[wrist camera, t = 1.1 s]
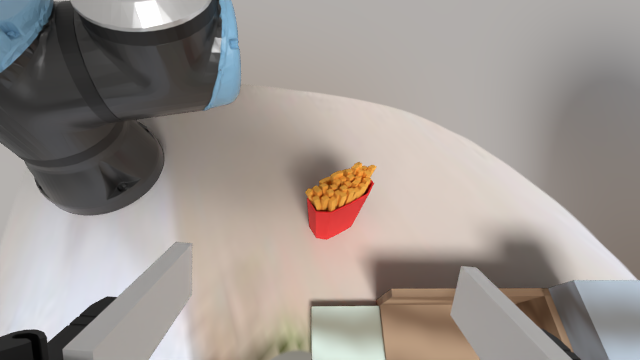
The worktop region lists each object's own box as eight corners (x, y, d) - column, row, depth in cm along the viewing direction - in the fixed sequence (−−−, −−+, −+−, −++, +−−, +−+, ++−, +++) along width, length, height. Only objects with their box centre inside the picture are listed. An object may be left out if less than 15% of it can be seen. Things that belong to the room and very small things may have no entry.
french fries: (348, 199, 44) (365, 149, 34) (363, 221, 43) (386, 175, 32) (297, 224, 41) (299, 178, 31) (311, 249, 40) (319, 208, 30)
